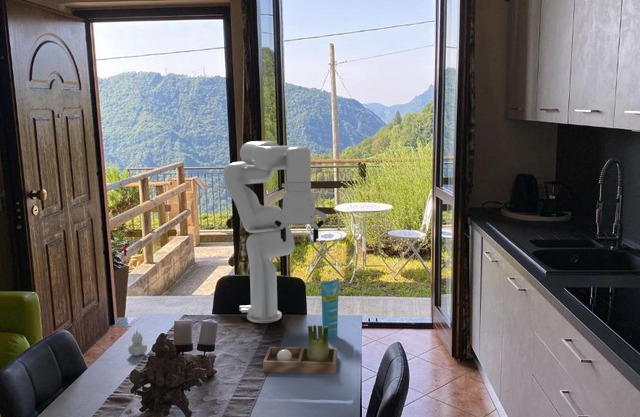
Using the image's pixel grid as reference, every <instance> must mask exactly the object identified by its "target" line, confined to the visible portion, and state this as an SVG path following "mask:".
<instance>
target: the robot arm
mask: <svg viewBox="0 0 640 417" xmlns="http://www.w3.org/2000/svg"><path fill="white" fill-rule="evenodd" d="M239 156H240V158H241V160H242V161H234V162H232V163H229V164H227V165H225V166H224V167H225V168H224V169H223V182H224V185H225V188H226V190H227V193H228V195H229V196H230V198H232V200H233V202H234V205H235V207H236V209H237V213H238V216H239V218H240V220H241V224H242V227H243V228H244V229H245V231H246V232H247V233H249V234H251V235H248V237H247V238H246V242H245V245H246V246H245V247H246V252H247V256H248V263H249V264H248V265H249V280H250V281H249V282H250V288H249V289H250V304H248V305H239V308H238V309H239V312H241V313H243V314H244V313H246V314H247V315H246V319H247V320H248V321H249V322H251V323H256V324H257V323H258V324H269V323H274V322H277V321H279V320H280V319H282V312H281V311H280V310H278V289H277V288H278V287H277V286H278V283H277V280H278V278H277V268H276V267H275V265H274V263H272V261H271V259H273V258H277V257H279V258H280V257H283V256H288V255H290V254H292V253H293V252H294V251H295V250H294V249H295V247H296V245H295V238H294V236H293V232H292V230H291V227H290V225H311V226H312V227H313V230H312V240H313V241H312V242H314V243H317V240H319V229H320V228H321V227H322V225H324V223H325V221H326V219H327V218H328V215H327V214H326V213H324V212H322V211H320V210H319V209H317V208H316V203H315V195H314V192H313V191H312V190H311V189H312V182H311V180H312V178H311V176H312V174H311V173H312V172H311V167H312V166H311V150H310V149H309V147H306V146H298V145H279V144H278V143H277V142H276V141H273V140H260V141H259V140H254V141H251V140H250V141H248V142H245V143H244V144H243V145H242V146H241V148H240V150H239ZM279 170H285V172H286V174H285V175H286V176H285V178H286V182H284V183H281V188H282V189H285V191H284V192H283V197H282V208H281V207H280V206H278V205H275V204H273V205H272V204H271V205H262V204H261V203H260V201H259V198H258V196H257V194H256V193H255V192H254V191H253V190H252V189H251V188H249V187H248V186H247V185H250V184H251V185H253V184H264V183H267V182H269V181H270V180H271V178H272V177H273V174H274V172H275V171H279ZM316 216H318V217H320V218H321V219H320V220H319V222H317V221H316V218H317V217H316Z"/></svg>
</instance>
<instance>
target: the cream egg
mask: <svg viewBox="0 0 640 417" xmlns="http://www.w3.org/2000/svg"><path fill="white" fill-rule="evenodd" d="M277 360H278V361H291V360H292V354H291V352H290V351H289V350H287V349H282V350H280V351H279V352H278V354H277Z"/></svg>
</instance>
